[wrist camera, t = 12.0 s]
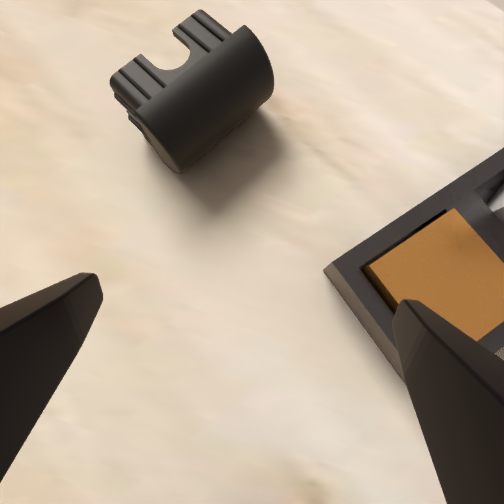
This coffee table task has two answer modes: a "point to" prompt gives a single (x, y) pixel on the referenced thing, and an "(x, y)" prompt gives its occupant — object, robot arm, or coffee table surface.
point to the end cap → (196, 90)
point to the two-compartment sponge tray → (433, 263)
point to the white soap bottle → (498, 203)
